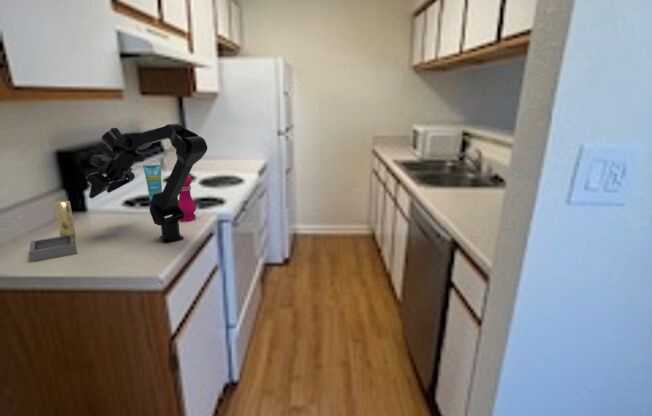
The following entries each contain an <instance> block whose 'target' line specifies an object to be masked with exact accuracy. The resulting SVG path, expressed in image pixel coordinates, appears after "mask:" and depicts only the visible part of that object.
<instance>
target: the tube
mask: <svg viewBox="0 0 652 416" xmlns="http://www.w3.org/2000/svg"><path fill="white" fill-rule="evenodd" d="M142 168H143V172H144V176H145V182H146V185H147V186H146V187H147V190H148V197H149V203H150V202H151V200H152V197H153V195H154V194H157V193H161V192H163V186H162V164H151V165H150V164H149V165H146V164H145V165H144V164H143V165H142Z"/></svg>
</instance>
